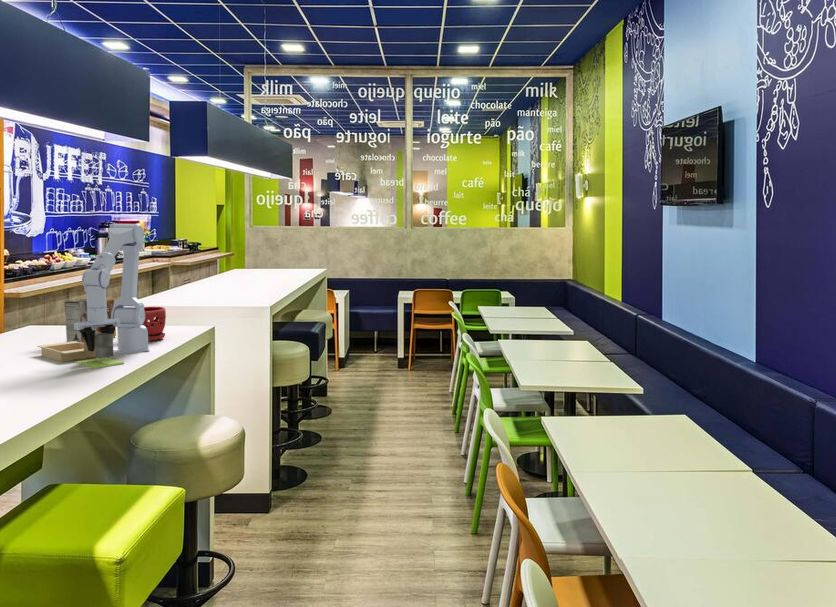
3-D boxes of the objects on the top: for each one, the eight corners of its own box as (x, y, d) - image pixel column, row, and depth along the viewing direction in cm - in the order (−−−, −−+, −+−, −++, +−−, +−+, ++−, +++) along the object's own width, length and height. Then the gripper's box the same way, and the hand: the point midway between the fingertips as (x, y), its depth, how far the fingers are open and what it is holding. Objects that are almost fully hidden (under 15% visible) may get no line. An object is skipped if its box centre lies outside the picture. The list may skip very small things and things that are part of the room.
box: (97, 352, 239) (96, 331, 238) (113, 356, 234) (112, 334, 233) (84, 354, 235) (83, 333, 235) (100, 358, 230) (99, 336, 230)
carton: (75, 351, 256) (75, 341, 255) (104, 358, 244) (103, 347, 243) (37, 356, 246) (37, 345, 245) (65, 364, 234) (64, 353, 233)
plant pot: (145, 336, 289) (144, 305, 287) (173, 338, 284) (172, 307, 283) (121, 341, 277) (120, 309, 275) (150, 343, 272) (149, 311, 271)
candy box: (110, 336, 287) (109, 297, 285) (116, 337, 284) (115, 298, 282) (88, 339, 280) (86, 299, 278) (94, 340, 277) (92, 300, 276)
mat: (104, 358, 243) (104, 357, 243) (123, 363, 235) (123, 361, 235) (74, 363, 235) (74, 361, 235) (93, 368, 227) (93, 366, 227)
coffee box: (82, 341, 275) (80, 298, 273) (97, 342, 274) (96, 299, 272) (66, 345, 266) (64, 301, 264) (81, 346, 265) (80, 301, 263)
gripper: (110, 304, 241) (111, 345, 243) (67, 308, 229) (69, 351, 231) (123, 306, 237) (124, 347, 239) (80, 310, 225) (82, 354, 227)
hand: (98, 349), depth 235 cm, fingers closed on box, 4 cm apart
